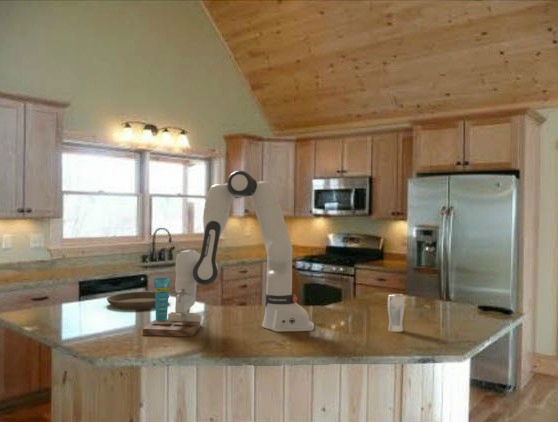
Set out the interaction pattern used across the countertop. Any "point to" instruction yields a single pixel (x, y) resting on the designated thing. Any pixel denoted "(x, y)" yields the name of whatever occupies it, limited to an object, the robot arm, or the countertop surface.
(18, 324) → the countertop surface
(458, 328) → the countertop surface
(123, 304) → the plant saucer
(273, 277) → the robot arm
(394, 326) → the beer glass
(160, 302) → the tube
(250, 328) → the countertop surface
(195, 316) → the power strip
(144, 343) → the countertop surface
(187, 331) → the keyhole board
